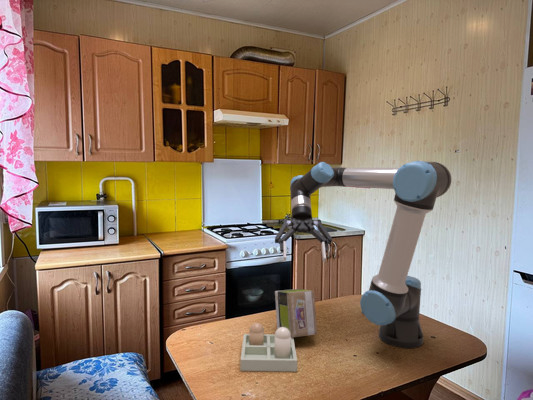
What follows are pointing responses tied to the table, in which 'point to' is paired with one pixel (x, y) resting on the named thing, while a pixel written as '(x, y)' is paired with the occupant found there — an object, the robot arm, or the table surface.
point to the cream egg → (282, 343)
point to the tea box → (296, 311)
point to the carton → (264, 352)
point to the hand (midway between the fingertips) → (304, 259)
